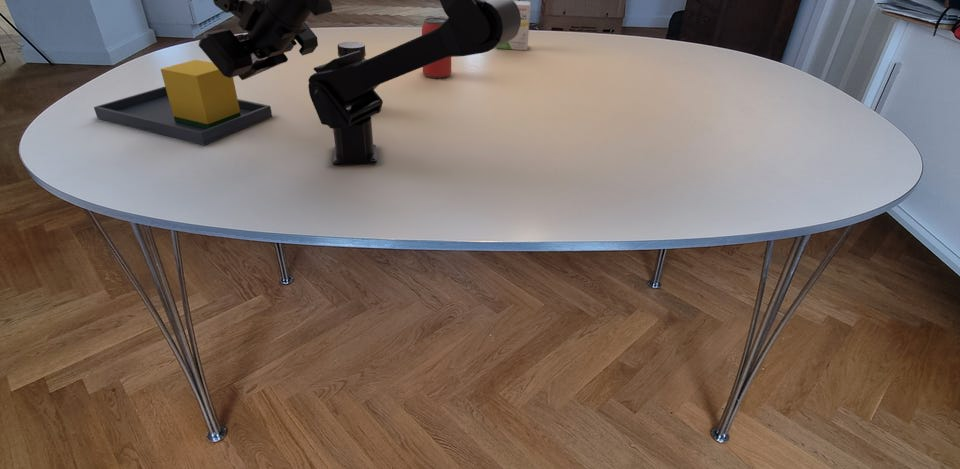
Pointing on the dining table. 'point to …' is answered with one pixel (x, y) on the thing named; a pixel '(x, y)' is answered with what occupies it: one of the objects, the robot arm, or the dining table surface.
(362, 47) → the supplement bottle
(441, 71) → the beer can
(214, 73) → the sponge
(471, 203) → the dining table surface
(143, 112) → the tray
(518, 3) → the ink box
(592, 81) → the dining table surface
